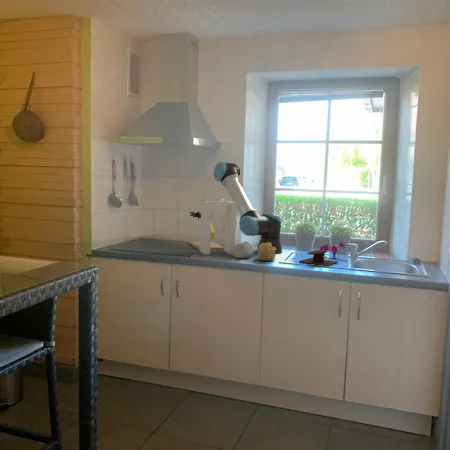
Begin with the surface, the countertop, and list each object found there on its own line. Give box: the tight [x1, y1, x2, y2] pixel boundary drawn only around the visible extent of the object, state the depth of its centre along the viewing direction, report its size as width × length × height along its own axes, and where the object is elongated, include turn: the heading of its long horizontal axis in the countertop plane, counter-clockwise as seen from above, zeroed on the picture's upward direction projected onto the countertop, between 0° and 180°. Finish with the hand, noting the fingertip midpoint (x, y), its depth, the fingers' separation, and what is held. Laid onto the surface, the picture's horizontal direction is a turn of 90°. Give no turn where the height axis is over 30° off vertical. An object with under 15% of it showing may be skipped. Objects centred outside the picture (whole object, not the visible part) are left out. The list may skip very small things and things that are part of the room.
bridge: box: [199, 198, 238, 255], centre depth 277 cm, size 10×18×32 cm, turn 108°
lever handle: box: [298, 249, 339, 267], centre depth 259 cm, size 16×7×20 cm
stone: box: [256, 242, 276, 262], centre depth 261 cm, size 13×10×10 cm
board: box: [188, 240, 224, 251], centre depth 298 cm, size 26×16×2 cm, turn 18°
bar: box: [210, 222, 216, 239], centre depth 297 cm, size 22×4×4 cm
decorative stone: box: [231, 241, 255, 259], centre depth 268 cm, size 17×10×10 cm
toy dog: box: [318, 240, 346, 258], centre depth 280 cm, size 4×18×10 cm, turn 66°
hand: (206, 216), depth 299 cm, fingers closed on bar, 4 cm apart
